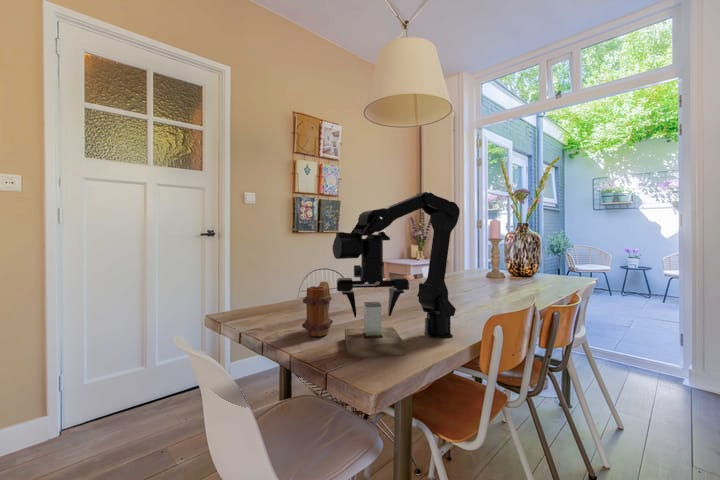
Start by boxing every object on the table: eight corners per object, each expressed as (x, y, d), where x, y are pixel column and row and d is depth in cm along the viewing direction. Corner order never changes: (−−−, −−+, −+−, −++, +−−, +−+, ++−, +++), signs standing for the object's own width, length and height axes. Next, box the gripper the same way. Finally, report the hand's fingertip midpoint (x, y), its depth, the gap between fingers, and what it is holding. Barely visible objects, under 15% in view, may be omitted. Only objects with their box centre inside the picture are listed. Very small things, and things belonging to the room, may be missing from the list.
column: (378, 330, 89) (378, 301, 89) (381, 335, 85) (381, 304, 85) (364, 331, 89) (363, 301, 89) (365, 335, 85) (365, 305, 85)
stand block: (392, 337, 95) (392, 325, 95) (404, 354, 81) (404, 340, 81) (344, 339, 93) (344, 327, 93) (348, 357, 79) (348, 343, 79)
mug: (325, 340, 92) (325, 287, 92) (298, 338, 94) (298, 286, 94) (339, 326, 107) (339, 280, 107) (315, 325, 108) (315, 279, 108)
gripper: (399, 255, 96) (399, 308, 96) (335, 256, 94) (336, 310, 94) (409, 258, 85) (409, 318, 85) (337, 259, 83) (337, 320, 83)
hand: (372, 316), depth 87 cm, fingers open, 9 cm apart
